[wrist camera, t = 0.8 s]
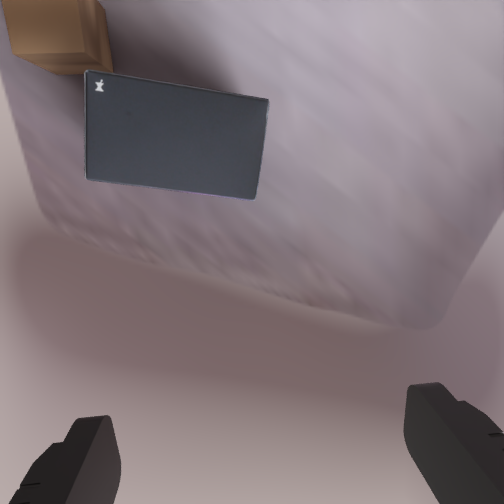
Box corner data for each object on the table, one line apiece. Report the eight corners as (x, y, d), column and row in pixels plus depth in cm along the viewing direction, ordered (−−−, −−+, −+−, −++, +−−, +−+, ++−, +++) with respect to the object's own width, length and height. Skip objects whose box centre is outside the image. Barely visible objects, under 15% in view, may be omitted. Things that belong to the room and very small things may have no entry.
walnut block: (45, 10, 26) (-5, -30, 21) (104, 9, 27) (72, -31, 21) (56, 74, 28) (12, 53, 22) (113, 73, 28) (85, 52, 22)
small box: (127, 174, 30) (78, 184, 20) (130, 94, 28) (78, 61, 18) (246, 189, 31) (256, 206, 21) (255, 114, 30) (271, 93, 19)
